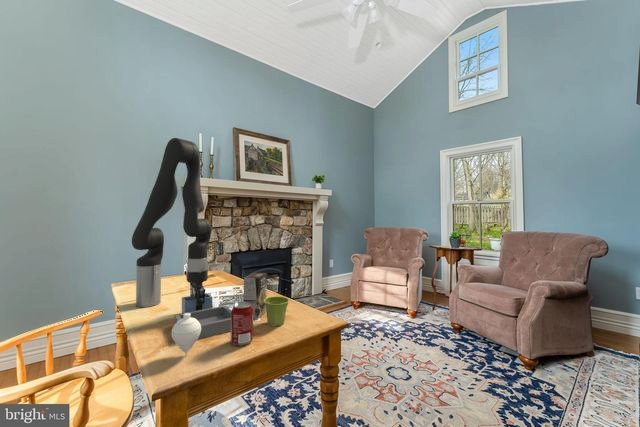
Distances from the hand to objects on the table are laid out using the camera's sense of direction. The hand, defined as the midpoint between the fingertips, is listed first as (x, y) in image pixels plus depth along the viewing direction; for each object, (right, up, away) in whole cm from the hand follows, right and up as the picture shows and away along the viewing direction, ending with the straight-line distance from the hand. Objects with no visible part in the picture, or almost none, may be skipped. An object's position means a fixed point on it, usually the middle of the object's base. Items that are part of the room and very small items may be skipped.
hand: (197, 311), depth 110 cm
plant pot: (+33, -2, -7) cm, 33 cm away
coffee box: (+23, -2, +1) cm, 23 cm away
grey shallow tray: (+9, -2, -12) cm, 15 cm away
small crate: (0, -1, 0) cm, 1 cm away
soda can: (+24, -2, -22) cm, 33 cm away
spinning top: (+11, -2, -31) cm, 33 cm away
